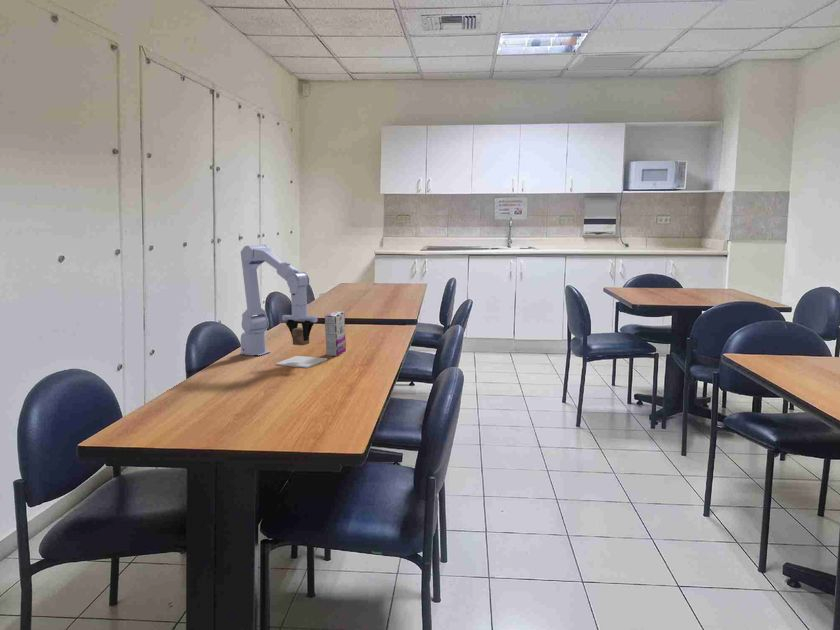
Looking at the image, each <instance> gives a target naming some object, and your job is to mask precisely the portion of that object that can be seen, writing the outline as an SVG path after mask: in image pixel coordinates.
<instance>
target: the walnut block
mask: <svg viewBox="0 0 840 630" xmlns="http://www.w3.org/2000/svg"><path fill="white" fill-rule="evenodd" d="M292 335H293V339H292V345H293V346H305V345H309V344H310V339H309V340H307V341H304V333H303V327H300V326H298V327H297V328H295V329H292ZM292 335H291V336H292Z"/></svg>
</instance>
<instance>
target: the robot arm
mask: <svg viewBox="0 0 840 630" xmlns="http://www.w3.org/2000/svg"><path fill="white" fill-rule="evenodd" d="M271 249H272V248H271V247H269V246H268V245H266V244H260V245H259V244H257V245H245V246H243V248H242V249H241V251H240V257H241V266H242V267H241V268H242V276H243V285H244V293H245V301H246V302H245V303H246V310H244V312H243V313H242V315H241V318H242V319H241V328H242V330H243V332H242V333H241V335H240V353H239V354H240V355H243V354H244V356H245V355H246V356H254V355H258V356H257V357H259V355H260V356H262V355H266V354H268V353H271V351H270V350H266V349H267V348H266V332H267V329H268V328H269V326H270V321H269V320H270V319H269V317H268V315H267V311H266V310H265V309H263V308H262V306H261V297H260V295H261V294H260V287H259V278H258V270H257V269H258V268H259V267H260V266H261V265H262V264H263V263H267V264H268V265H269V266H271V267H273V268H274V269H276V273H277V275H279V277H281V278H282V279H283V280H284V281H286V283H287V286H288V288H289V293H290V299H291V303H290V304H291V314H283V315H281V320H282V321H284V322H285V321H287V322H285V324H286V326H287V328H288V330H289V333H290V335H291V338H292V340H293V335H292V329H295V328H298V327H299V326H298V325H299V322H301V328H303V333H304V341H307V340H309V341H310V334H311V331H312V328H313V327H314V324H315V323H317V322H319V321H318V316H315V315H308V301H307V300H308V299H307V295H308V294H307V287H308V286H309V284H310V277H309V275H308V274H307V273H306V272H305V271H299V270H298V269H297V268H295V267H294V266H292V265H291V263H290V262H289V261H282V260H280V259H279V258H278V257H277V255H275V254H274V253H273V252H272V250H271Z"/></svg>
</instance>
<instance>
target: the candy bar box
mask: <svg viewBox="0 0 840 630" xmlns="http://www.w3.org/2000/svg"><path fill="white" fill-rule="evenodd" d="M345 318H346V317H345V311H333V312H331V313H328V314H327V315H324V328H325V351H326V357H327V356H328V357H338V356H340V355H341V354H343V353H344V352H345V351H346V350H347V348H346V347H347V344H346V323H345V321H346V320H345ZM342 352H343V353H342ZM339 354H340V355H339Z"/></svg>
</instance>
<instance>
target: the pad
mask: <svg viewBox="0 0 840 630" xmlns="http://www.w3.org/2000/svg"><path fill="white" fill-rule="evenodd" d="M327 361H328V358H323V357H315V356H302V355H295V356H292V357H290V358H287V359H283V360H282V361H278V362H276V363H275V366H283V367H291V368H292V367H294V368H303V369H309V368H311V367H313V366H316V365H319V364H321V363H323V362H327Z"/></svg>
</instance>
